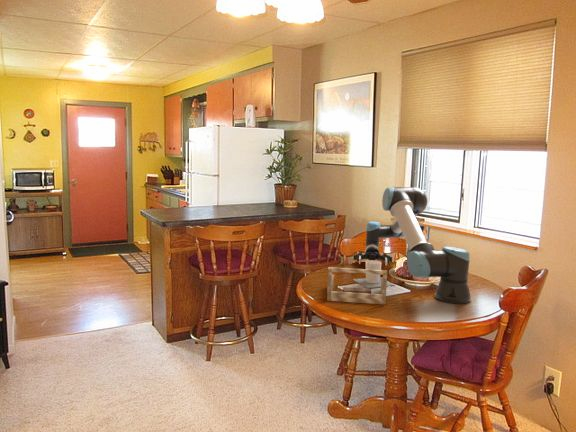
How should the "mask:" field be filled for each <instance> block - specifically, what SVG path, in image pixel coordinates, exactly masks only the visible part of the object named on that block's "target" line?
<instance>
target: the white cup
mask: <svg viewBox="0 0 576 432" xmlns="http://www.w3.org/2000/svg"><path fill="white" fill-rule="evenodd" d="M382 263H383V262H382V261H381V260H369V259H367V260H365V269H370V270H382ZM365 278H366V282H368V283H379V282H380V278H381V274H365Z"/></svg>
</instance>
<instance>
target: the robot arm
mask: <svg viewBox="0 0 576 432" xmlns="http://www.w3.org/2000/svg"><path fill="white" fill-rule="evenodd" d="M381 204H382V205H381V206H382V208H383V209H382V210H384V211H386V212H387V211H389V213H390V215H391V216H392V218H393V217H394V218H395V219H394V220H393V222H392V223H391V224H383V225H382V224H381V223H380V222H378V221H374V220H373V221H368V222H366V223H367V224H366V229H365V231H366V233H365V236H366V237H365V250H364V251H365V252H364V253H363V251H360V252H359V253H355V254H353V260H354V261H356V262H358V265H361V261H362V260H376V261H381V262H382V261H383V262H384V263H385V267H386V266H388V264H390V263H393V257H392V256H391V255H388V254H386V253H385V252H383V253H382V254H381V253H380V239H400V238H401V239H402V238H403V237H404V240H405V243H406V244H407V248H408V247H409V249H410V250H409V252H408V255H407V254H406V256H407V260H406V259H405V262H406V261H407V267H408V269H407V270H408V271H409V273H410V275H412V276H413V277H415V278H421V279H426V278H437V277H438V278H440V280H439V282H438V285H437V287H436V290H435V293H434V297H435V298H436V299H437V300H439V301H441V302H444V303H449V304H459V305H460V304H468V303H470V302H471V297H472V296H471V292H470V289H469V288H470V287H469V285H468V280H469V270H470V269H469V268H470V262H471V260H470V253H469V251H468V250H466V249H463V248H459V247H454V246H442V248H441V250H435V247H434V246H433V245H434V244H432V243H430V242H428V243H427V241H426V238H425V236H424V234H423V232H422V230H421V228H420V226H421V225H420V223H419V222H418V220H417V218H416V217H417V216H418V215H420V214H422V213H423V212H424V211H425V210H426V207H427V205H428V197H427V195H426V193H425V192H424V191H423V190H422V189H420V188H418V187H415V186H414V187H413V186H412V187H411V186H410V187H404V186H403V187H402V186H391V187H386V188H385V189H384V191H383V194H382V203H381Z"/></svg>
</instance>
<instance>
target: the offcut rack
mask: <svg viewBox="0 0 576 432" xmlns="http://www.w3.org/2000/svg"><path fill="white" fill-rule="evenodd" d="M333 272H334V273H335V272H336V273H348V274H349V273H351V274H365V275H366V274H380V278H381V287H380V293H379V294H378V293H371V294H367V293H352V292H339V291H335V290H334V285H335V284H334V283H335V281H334V280H335V274H333ZM381 275H382V277H381ZM387 281H388V270H385V269H384V270H383V269H381V270H370V269H366V268H365V269H364V268H354V267H353V268H351V267H350V268H348V267H332V266H331V267H330V266H328V268H327V290H326V292H327V294H326V295H327V296H326V301H329V302H331V301H332V302H345V303H346V302H347V303H358V304H359V303H361V304H371V305H372V304H373V305H377V304H378V305H386V300H387V287H386V285H387Z"/></svg>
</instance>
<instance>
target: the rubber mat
mask: <svg viewBox="0 0 576 432" xmlns="http://www.w3.org/2000/svg"><path fill="white" fill-rule="evenodd" d="M352 281H353V282H354V283H357V284H359V285H360V286H362V287H363V288H370V289H378V288H380V289H381V277H380V282H379V283H368V282H366V277H363V278H354V279H352ZM388 286H390V287H395V284H393V283H392V282H390V281H388V280H387V285H386V288H387V287H388ZM388 288H389V287H388Z"/></svg>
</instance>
